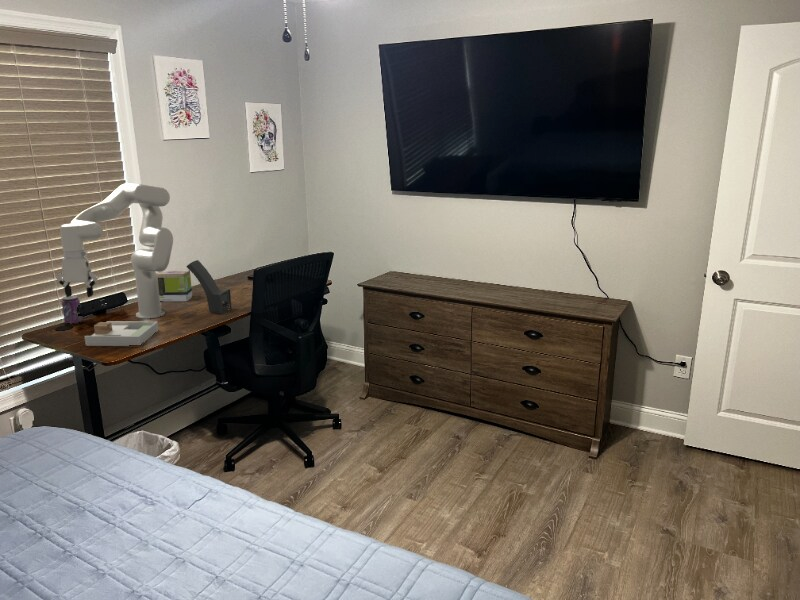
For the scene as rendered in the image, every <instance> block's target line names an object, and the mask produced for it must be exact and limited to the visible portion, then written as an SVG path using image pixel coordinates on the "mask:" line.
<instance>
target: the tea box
mask: <svg viewBox="0 0 800 600" xmlns="http://www.w3.org/2000/svg"><path fill="white" fill-rule="evenodd" d="M156 274H157V278H158V287H159V297H160V301H163V302H188V301H190V299H191V298H192V297H193V287H192V278H191V271H190V270H189V269H165V270H164V271H161V272H156Z"/></svg>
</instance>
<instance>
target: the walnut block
mask: <svg viewBox="0 0 800 600" xmlns="http://www.w3.org/2000/svg"><path fill="white" fill-rule="evenodd" d="M93 330H94V333H95V334H108V333H109V332H110V331H112V323H111V322H107V321H106V322H103V321H100V322H97V323H96V324H94V325H93Z"/></svg>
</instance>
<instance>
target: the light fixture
mask: <svg viewBox="0 0 800 600" xmlns="http://www.w3.org/2000/svg"><path fill="white" fill-rule="evenodd" d="M186 268H187V270H190V273H192V274H193V276H195V278H196V280H197V281H198V283H199V284H200V287H202V290H203V291H204V294H205V297H206V300H207V307H208V311H209V312H208V313H209V314H213V313H215V314H216V313H217V314H218V313H219V315H224V314H225V313H227V312H229V310H228V309H230V310H231V309H232V298H231V290H230V288H229V289H228V288H227V289H225V290H222V289H220V288H219V287H218V285H217V283H216V282H215V279H214V278H213V277H212V275H211V274H210V273H209V271H208V269H207V268H206V266H204V265H203V264H202V262H200V260H198V259H196V260H194V261H191V262H190V263H188V264H187V266H186Z"/></svg>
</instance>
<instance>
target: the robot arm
mask: <svg viewBox="0 0 800 600" xmlns="http://www.w3.org/2000/svg"><path fill="white" fill-rule="evenodd" d="M170 200H171V196H170V193H169V191H168V190H167V189H166V188H163V187H160V186H154V185H147V184H143V183H129V182H128V183H123V184H121V185H119V186H118V187H117V188H116V189H114V191H113V192H111V194H109V195H108V196H107V197H106V198H105V199H104V200H103V201H101V202H98V203H97V204H95V205H92V206H91V207H88V208H87V209H85V210H83V211H81V212H80V213H79V214H78V215H76V216H75V217H74V218H73V219H72V220H71V221H70V223H64V224H61V225H60V227H59V231H60V240H61V245H62V247H61V248H62V253H63V257H62V260H61V273H59V275H56V276H55V279H56V280H57V282H58V283H59V284H60V285H61V286H62V287H63V288H64V293H65V296H66V297H69V296H72V295H73V293H72V286H71V285H70V284H71V283H84V284H85V286H86V296H87V297H88V298H91V297H93V296H94V288H93V287H94V285H96V283H97V281H98V280H99V276H98V275H96V274H94V273H93V272H92V268H91V265H90V261H89V258H88V257H87V255H88V253H89V252H88V251H85V247H84V241H95V240H99V239H100V238H101V237H102V235H103V234H104V228H103V227H102V225H101V224H99V223H100V222H101V223H102V222H105V221H109V220H113V219H116V218H118V217H120V216H121V215H122V213H124V212H125V211H126V210H127V209H128V207H130V206H131V205H133V204H139V206H140V208H141V212H142V220H141V225H140V230H139V236H138V241H139V243H140V244H141V245H142V246H145V247H149V248H153V249H148V248H140V249H139V248H138V249H135V250H134V251H133V252H132V254H131V256H130V262H131V266H132V269H133V273H134V278H135V279H134V280H135V286H136V296H137V304H138V312H136V313H135V317H136V318H137V319H140V320H141V319H143V320H150V318H151V319H156V318H160V316H161V317H162V316H164V315H165V310H163V309H161V308H162V307H161V306H162V305H163V302H160V297H159V287H158V278H157V274H156V273H158V272H161V271H164V270H167V268H168V266H169V264H170V261H171V260H170V259H171V254H172V250H173V244H174V236H173V233H172V231H171V230H170V229H168V228H166V227H163V226H162V224H163V218H164V217H163V212H162V210H161V207H162V208H163V207H164V206H167V205H168V204H169V202H170Z"/></svg>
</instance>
